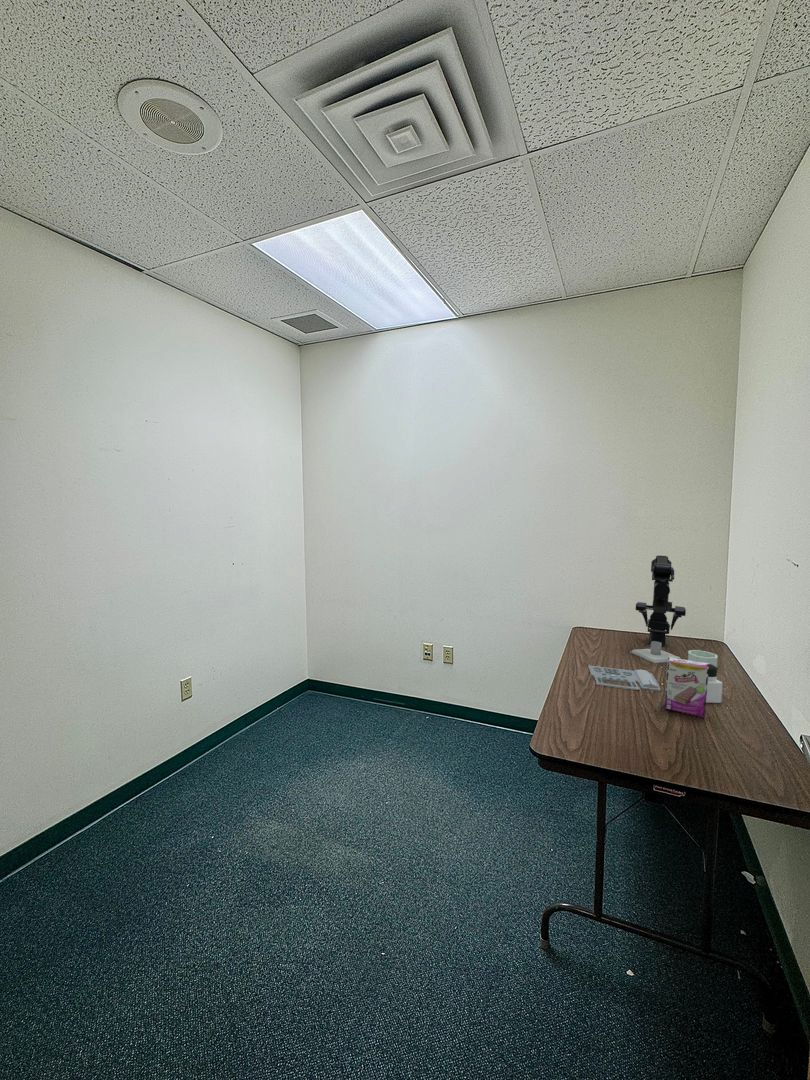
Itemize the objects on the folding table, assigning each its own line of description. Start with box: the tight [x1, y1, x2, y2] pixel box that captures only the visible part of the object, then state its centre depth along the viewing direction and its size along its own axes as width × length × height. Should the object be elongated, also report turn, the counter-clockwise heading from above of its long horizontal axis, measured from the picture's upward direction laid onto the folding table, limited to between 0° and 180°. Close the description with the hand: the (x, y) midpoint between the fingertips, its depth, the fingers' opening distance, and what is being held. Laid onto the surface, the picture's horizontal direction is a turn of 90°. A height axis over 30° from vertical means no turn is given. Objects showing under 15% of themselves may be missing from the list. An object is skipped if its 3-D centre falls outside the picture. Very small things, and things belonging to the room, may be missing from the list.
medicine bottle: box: [706, 663, 724, 704], centre depth 153 cm, size 7×7×12 cm
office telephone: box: [588, 664, 661, 692], centre depth 170 cm, size 23×3×20 cm
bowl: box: [687, 649, 719, 668], centre depth 185 cm, size 10×10×5 cm
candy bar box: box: [664, 657, 709, 719], centre depth 143 cm, size 11×5×16 cm, turn 59°
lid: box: [631, 641, 681, 663], centre depth 196 cm, size 13×13×6 cm
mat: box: [628, 650, 668, 664], centre depth 196 cm, size 15×15×1 cm
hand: (659, 628), depth 195 cm, fingers open, 9 cm apart
